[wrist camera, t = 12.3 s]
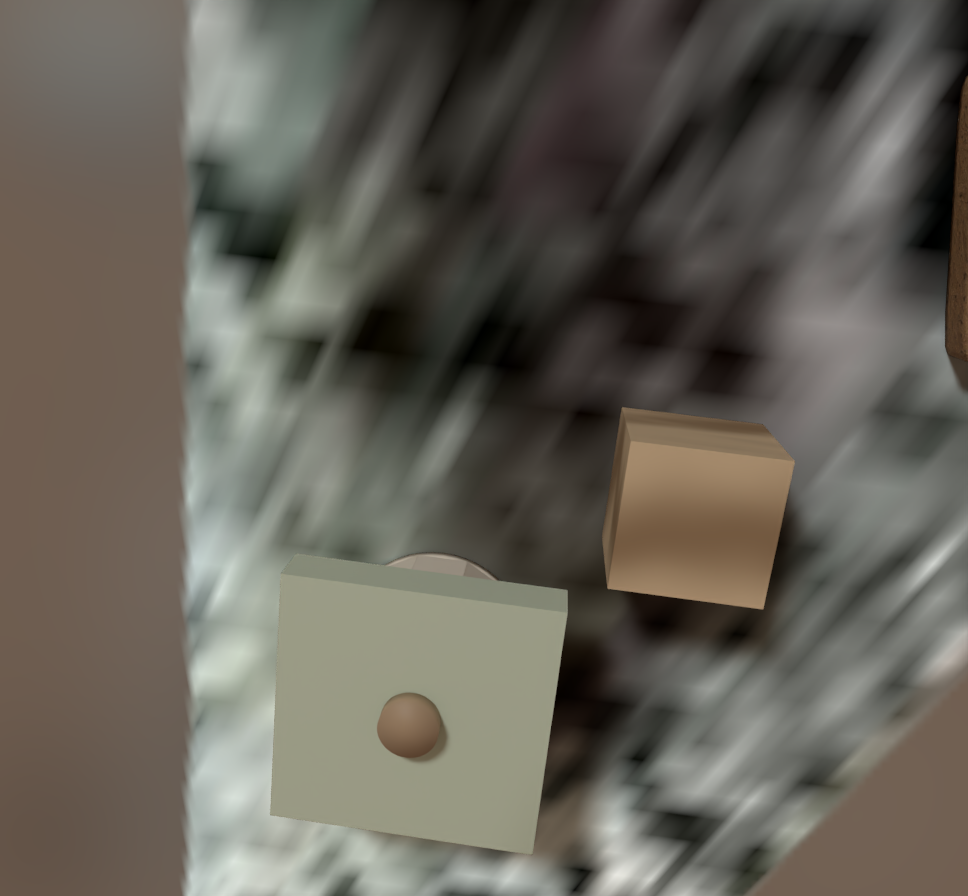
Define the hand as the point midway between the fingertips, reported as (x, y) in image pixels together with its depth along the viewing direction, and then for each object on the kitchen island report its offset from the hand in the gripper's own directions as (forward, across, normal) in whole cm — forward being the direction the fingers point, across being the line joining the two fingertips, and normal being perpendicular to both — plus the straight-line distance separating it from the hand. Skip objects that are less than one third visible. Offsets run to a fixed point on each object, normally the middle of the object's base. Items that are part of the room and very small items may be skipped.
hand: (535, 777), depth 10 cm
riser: (+29, +6, -5) cm, 30 cm away
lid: (+24, -4, -14) cm, 28 cm away
